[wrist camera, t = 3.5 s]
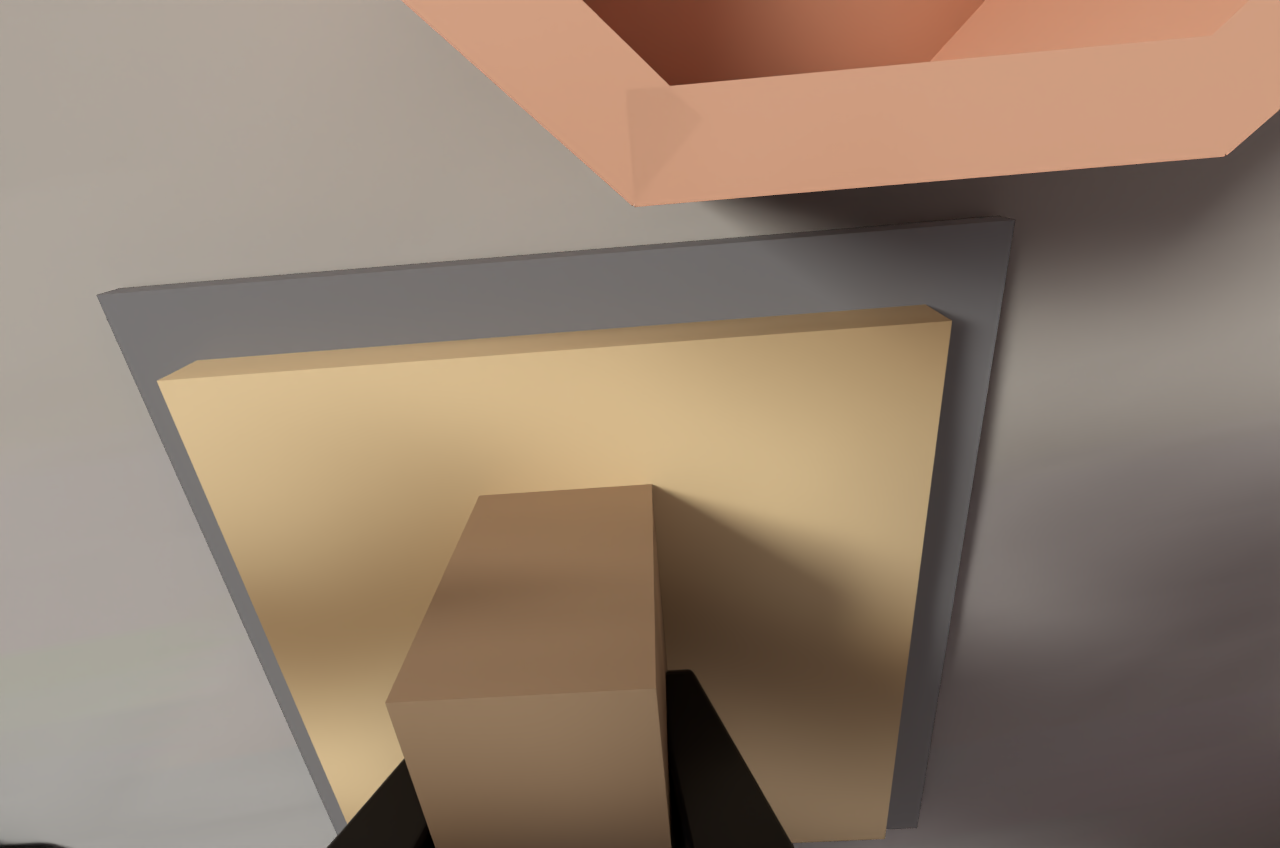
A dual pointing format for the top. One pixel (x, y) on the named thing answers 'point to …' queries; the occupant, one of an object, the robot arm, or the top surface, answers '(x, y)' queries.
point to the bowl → (870, 86)
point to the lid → (586, 560)
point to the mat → (604, 299)
